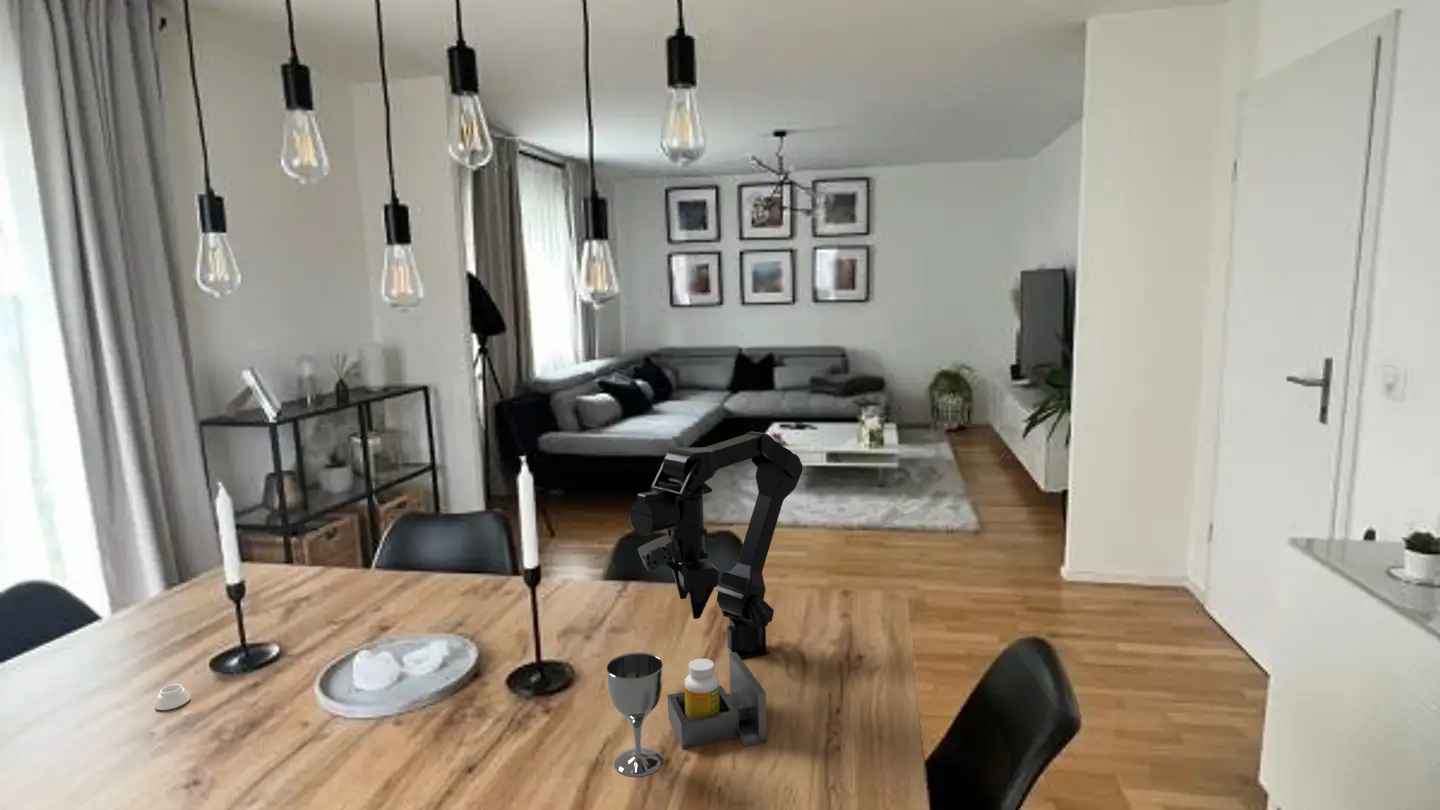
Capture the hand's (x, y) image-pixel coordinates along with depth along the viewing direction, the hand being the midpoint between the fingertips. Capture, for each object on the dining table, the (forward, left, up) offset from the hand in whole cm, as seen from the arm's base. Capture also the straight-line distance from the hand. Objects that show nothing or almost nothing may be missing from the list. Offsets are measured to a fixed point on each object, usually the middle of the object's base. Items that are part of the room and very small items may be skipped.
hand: (689, 608), depth 136 cm
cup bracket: (+1, +16, -13) cm, 21 cm away
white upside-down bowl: (+86, -22, -13) cm, 90 cm away
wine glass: (+14, +22, -13) cm, 29 cm away
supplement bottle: (+2, +16, -12) cm, 20 cm away
